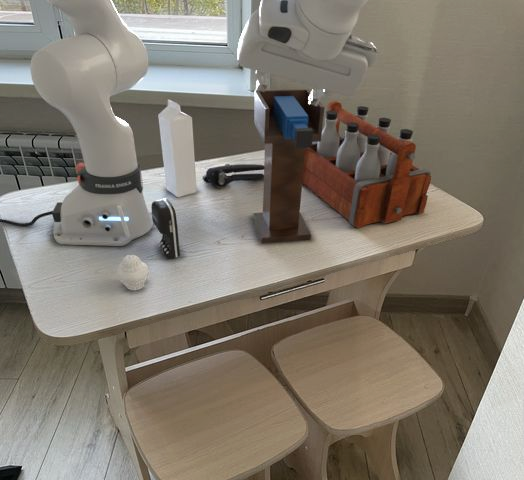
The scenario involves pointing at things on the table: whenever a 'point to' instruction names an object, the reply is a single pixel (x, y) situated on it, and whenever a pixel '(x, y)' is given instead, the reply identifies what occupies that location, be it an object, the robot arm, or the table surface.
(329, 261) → the table surface
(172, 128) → the milk
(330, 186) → the milk bottle holder
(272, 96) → the wooden pedestal stand
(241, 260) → the table surface
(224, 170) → the can opener
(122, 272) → the muffin
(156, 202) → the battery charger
